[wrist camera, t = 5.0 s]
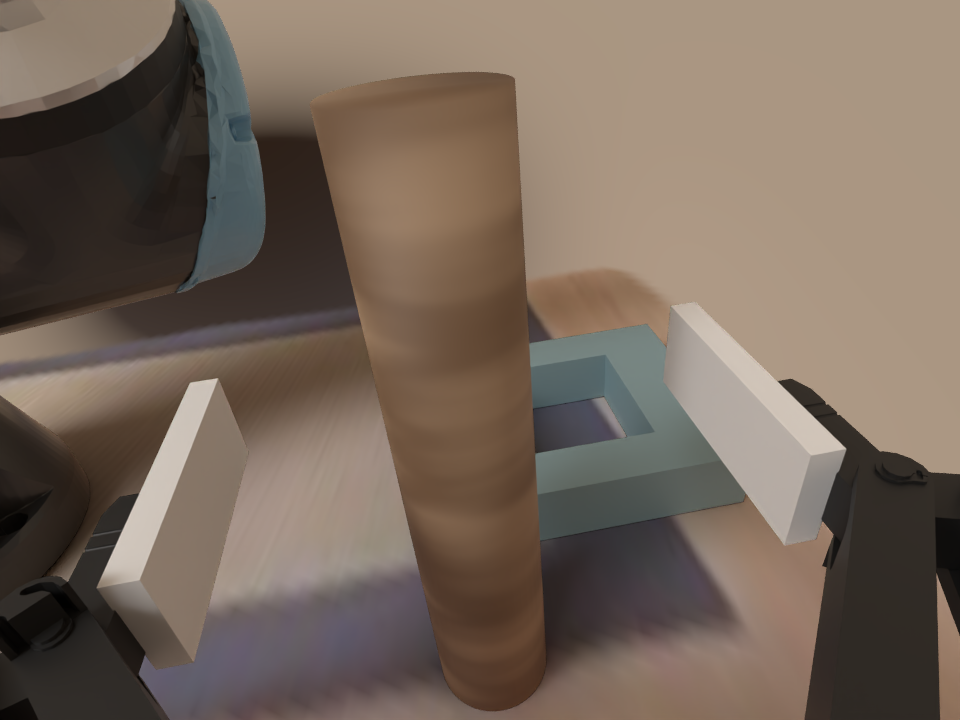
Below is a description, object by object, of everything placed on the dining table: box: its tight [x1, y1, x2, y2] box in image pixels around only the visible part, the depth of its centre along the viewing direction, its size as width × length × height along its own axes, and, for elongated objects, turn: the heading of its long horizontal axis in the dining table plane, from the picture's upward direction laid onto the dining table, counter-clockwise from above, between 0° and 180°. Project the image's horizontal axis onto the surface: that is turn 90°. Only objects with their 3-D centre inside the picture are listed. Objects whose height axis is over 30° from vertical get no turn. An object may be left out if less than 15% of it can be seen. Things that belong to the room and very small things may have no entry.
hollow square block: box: [529, 324, 745, 541], centre depth 31 cm, size 12×14×3 cm
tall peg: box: [310, 72, 546, 711], centre depth 17 cm, size 4×4×20 cm
